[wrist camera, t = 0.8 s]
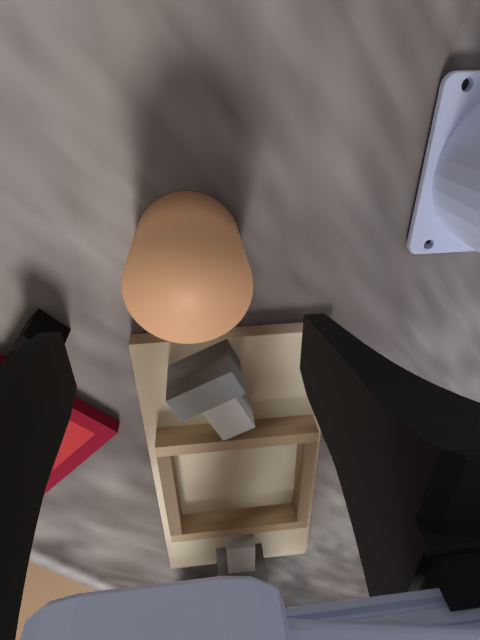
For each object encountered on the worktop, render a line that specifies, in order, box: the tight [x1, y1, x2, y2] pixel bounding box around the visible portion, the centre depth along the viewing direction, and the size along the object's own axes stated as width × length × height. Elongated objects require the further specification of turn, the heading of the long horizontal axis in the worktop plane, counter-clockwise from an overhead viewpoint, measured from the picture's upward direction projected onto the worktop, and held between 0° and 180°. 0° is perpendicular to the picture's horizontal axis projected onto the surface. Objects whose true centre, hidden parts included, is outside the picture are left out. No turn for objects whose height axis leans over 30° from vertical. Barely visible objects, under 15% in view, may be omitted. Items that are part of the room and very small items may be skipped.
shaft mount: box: [129, 322, 321, 583], centre depth 27 cm, size 11×22×4 cm, turn 1°
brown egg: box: [122, 191, 253, 344], centre depth 18 cm, size 5×5×5 cm
